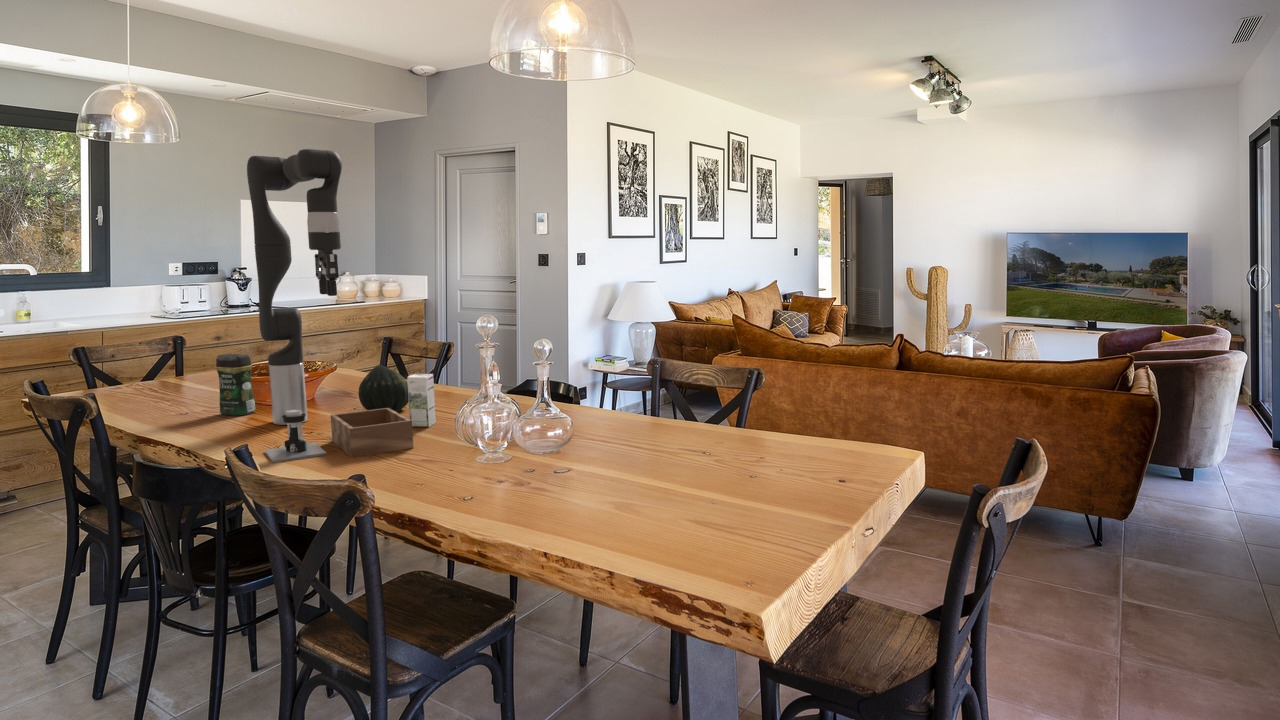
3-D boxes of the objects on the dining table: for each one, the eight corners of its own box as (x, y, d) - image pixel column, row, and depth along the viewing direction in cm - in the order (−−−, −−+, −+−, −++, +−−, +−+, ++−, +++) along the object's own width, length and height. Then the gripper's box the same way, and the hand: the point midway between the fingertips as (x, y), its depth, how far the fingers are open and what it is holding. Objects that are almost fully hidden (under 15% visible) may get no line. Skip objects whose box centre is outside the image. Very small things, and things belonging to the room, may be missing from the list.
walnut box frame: (332, 441, 206) (330, 414, 205) (389, 433, 215) (388, 407, 214) (351, 457, 190) (349, 428, 189) (413, 447, 198) (411, 420, 197)
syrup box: (436, 423, 226) (433, 373, 224) (429, 427, 220) (426, 376, 218) (417, 422, 227) (414, 373, 225) (409, 427, 221) (406, 376, 219)
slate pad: (264, 452, 196) (264, 449, 196) (315, 445, 202) (315, 442, 202) (273, 462, 186) (272, 460, 186) (326, 454, 192) (326, 452, 192)
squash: (399, 399, 234) (404, 357, 242) (348, 402, 234) (355, 360, 242) (411, 422, 246) (416, 381, 254) (363, 425, 245) (370, 384, 254)
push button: (275, 452, 193) (272, 412, 191) (290, 447, 198) (287, 408, 197) (298, 454, 191) (295, 413, 190) (312, 448, 196) (309, 409, 195)
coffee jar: (215, 415, 241) (209, 355, 238) (235, 410, 248) (230, 351, 246) (240, 417, 238) (235, 356, 235) (260, 411, 246) (255, 352, 243)
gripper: (302, 231, 203) (306, 294, 206) (314, 230, 192) (319, 297, 194) (332, 231, 207) (336, 293, 210) (346, 230, 196) (350, 295, 198)
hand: (328, 295), depth 202 cm, fingers open, 8 cm apart
